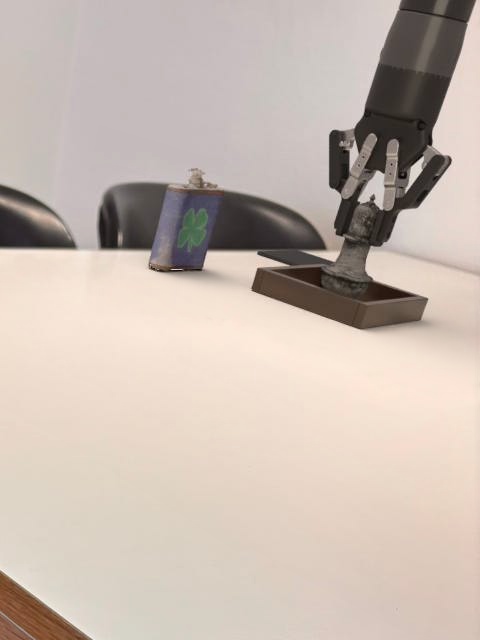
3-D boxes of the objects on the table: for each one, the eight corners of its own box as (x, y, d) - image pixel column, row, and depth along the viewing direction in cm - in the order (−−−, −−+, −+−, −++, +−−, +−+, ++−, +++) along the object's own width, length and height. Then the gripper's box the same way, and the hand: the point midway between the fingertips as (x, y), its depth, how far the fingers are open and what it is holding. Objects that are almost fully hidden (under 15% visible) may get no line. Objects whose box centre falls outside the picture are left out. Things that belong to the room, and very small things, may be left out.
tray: (316, 284, 131) (323, 263, 129) (420, 320, 123) (429, 298, 122) (250, 290, 120) (257, 267, 119) (359, 329, 113) (368, 305, 112)
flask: (159, 272, 120) (184, 170, 114) (139, 265, 122) (163, 164, 116) (208, 270, 126) (234, 173, 120) (188, 263, 128) (213, 167, 122)
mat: (295, 252, 149) (296, 249, 148) (358, 273, 143) (359, 269, 143) (256, 254, 142) (257, 250, 142) (321, 275, 136) (322, 272, 136)
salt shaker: (311, 304, 120) (348, 191, 113) (310, 294, 125) (345, 185, 118) (363, 316, 119) (403, 203, 113) (360, 305, 124) (398, 196, 118)
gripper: (495, 83, 108) (431, 257, 117) (371, 58, 116) (319, 224, 124) (465, 76, 103) (400, 259, 112) (338, 51, 111) (286, 224, 119)
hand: (358, 239), depth 118 cm, fingers closed on salt shaker, 3 cm apart
